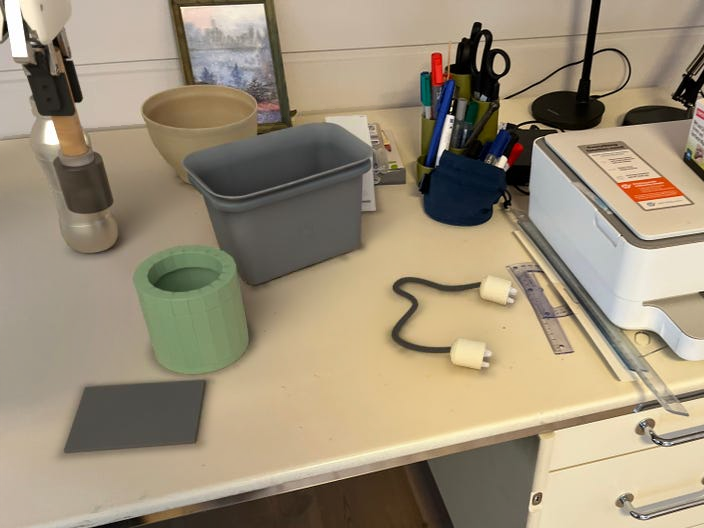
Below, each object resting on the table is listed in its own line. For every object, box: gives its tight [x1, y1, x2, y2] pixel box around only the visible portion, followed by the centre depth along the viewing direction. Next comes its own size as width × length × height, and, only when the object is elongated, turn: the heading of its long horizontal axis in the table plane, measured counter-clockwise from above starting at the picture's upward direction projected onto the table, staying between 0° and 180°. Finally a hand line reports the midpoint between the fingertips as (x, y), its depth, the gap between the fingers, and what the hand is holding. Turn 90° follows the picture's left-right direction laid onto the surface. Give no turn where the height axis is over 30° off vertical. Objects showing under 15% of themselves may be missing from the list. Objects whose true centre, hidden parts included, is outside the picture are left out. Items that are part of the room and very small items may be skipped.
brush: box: [33, 46, 115, 214], centre depth 75 cm, size 5×5×16 cm
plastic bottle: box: [28, 94, 119, 254], centre depth 93 cm, size 6×7×20 cm
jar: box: [132, 244, 250, 375], centre depth 82 cm, size 10×10×10 cm
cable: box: [391, 274, 518, 370], centre depth 90 cm, size 16×16×4 cm
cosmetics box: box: [324, 114, 377, 212], centre depth 110 cm, size 10×6×10 cm, turn 11°
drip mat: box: [63, 379, 206, 454], centre depth 76 cm, size 12×9×1 cm
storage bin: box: [181, 121, 375, 286], centre depth 96 cm, size 21×16×14 cm
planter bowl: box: [140, 84, 259, 185], centre depth 113 cm, size 16×16×11 cm
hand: (61, 106), depth 73 cm, fingers closed on brush, 2 cm apart
